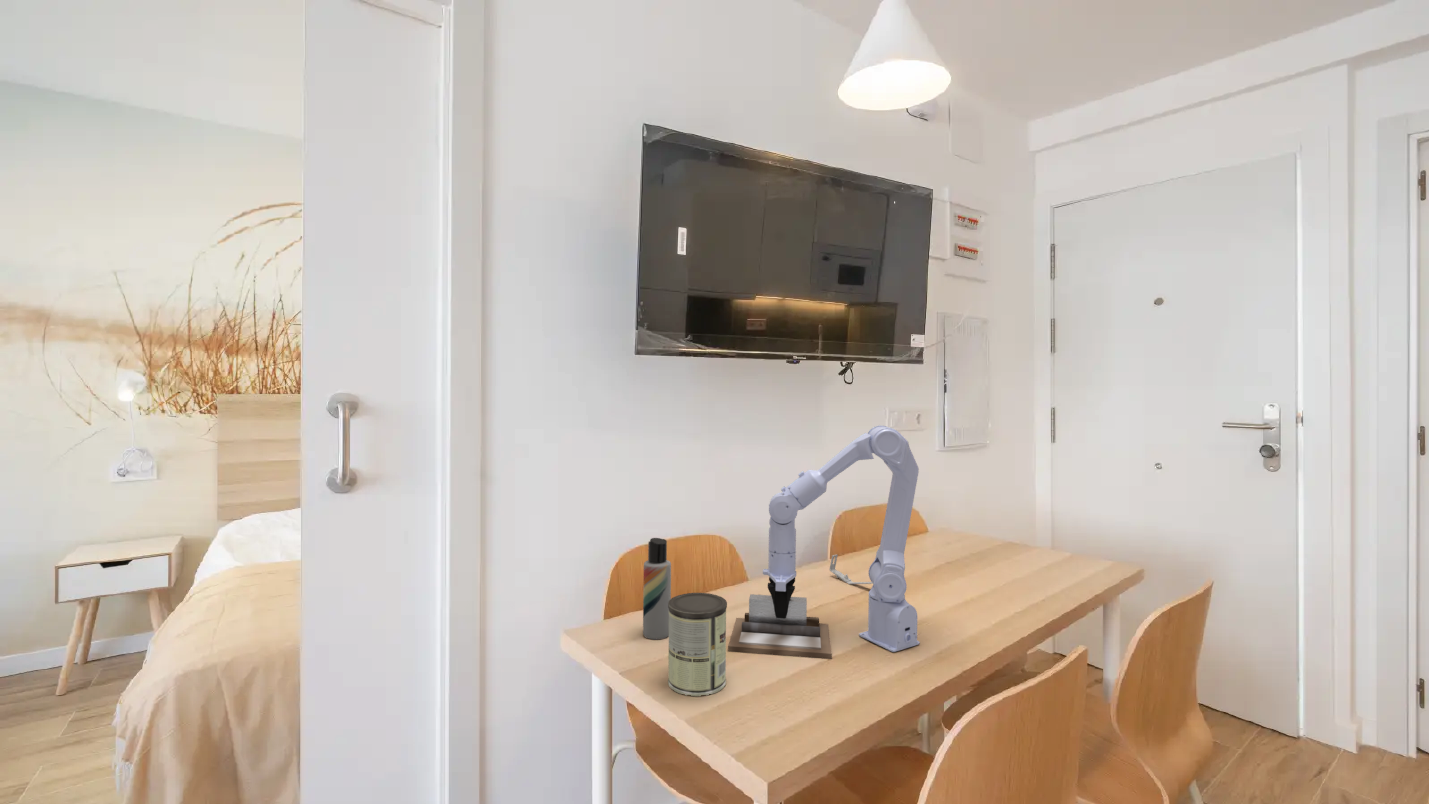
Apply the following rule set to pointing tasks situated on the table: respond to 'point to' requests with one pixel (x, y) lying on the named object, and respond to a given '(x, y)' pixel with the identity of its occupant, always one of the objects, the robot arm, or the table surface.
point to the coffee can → (697, 643)
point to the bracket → (842, 576)
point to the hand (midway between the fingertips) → (781, 614)
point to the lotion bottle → (656, 590)
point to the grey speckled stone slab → (764, 611)
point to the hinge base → (781, 638)
